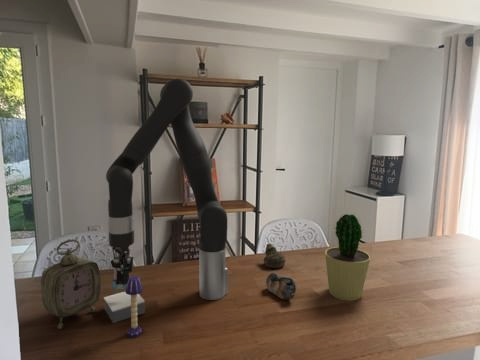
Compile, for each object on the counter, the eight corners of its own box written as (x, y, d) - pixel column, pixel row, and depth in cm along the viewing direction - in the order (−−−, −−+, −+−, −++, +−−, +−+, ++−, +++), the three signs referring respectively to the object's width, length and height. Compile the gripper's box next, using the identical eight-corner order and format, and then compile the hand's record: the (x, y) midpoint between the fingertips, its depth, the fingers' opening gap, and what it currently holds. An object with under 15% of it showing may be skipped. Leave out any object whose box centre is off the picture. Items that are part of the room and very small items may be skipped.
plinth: (134, 299, 113) (134, 288, 113) (145, 312, 105) (144, 301, 105) (104, 308, 107) (103, 297, 107) (113, 323, 99) (112, 310, 99)
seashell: (282, 245, 151) (260, 246, 150) (288, 239, 141) (265, 239, 139) (284, 271, 147) (262, 271, 145) (291, 266, 136) (267, 266, 135)
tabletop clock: (57, 334, 94) (51, 250, 90) (40, 324, 98) (33, 243, 95) (102, 311, 106) (98, 236, 102) (85, 303, 111) (80, 231, 107)
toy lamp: (129, 328, 97) (127, 274, 94) (145, 327, 97) (143, 274, 95) (125, 338, 92) (122, 282, 90) (142, 337, 92) (140, 281, 90)
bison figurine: (267, 287, 124) (259, 298, 115) (268, 269, 123) (260, 278, 114) (298, 293, 120) (293, 305, 111) (299, 274, 119) (294, 285, 110)
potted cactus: (369, 288, 124) (374, 210, 119) (365, 307, 110) (372, 220, 105) (327, 280, 130) (331, 206, 126) (319, 297, 116) (323, 214, 112)
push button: (134, 282, 108) (133, 253, 107) (133, 290, 103) (132, 259, 102) (113, 284, 107) (111, 255, 105) (110, 292, 101) (109, 261, 100)
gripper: (141, 233, 99) (142, 286, 101) (126, 222, 110) (128, 271, 113) (115, 237, 95) (117, 293, 97) (102, 225, 106) (105, 276, 108)
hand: (123, 281), depth 105 cm, fingers closed on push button, 3 cm apart
